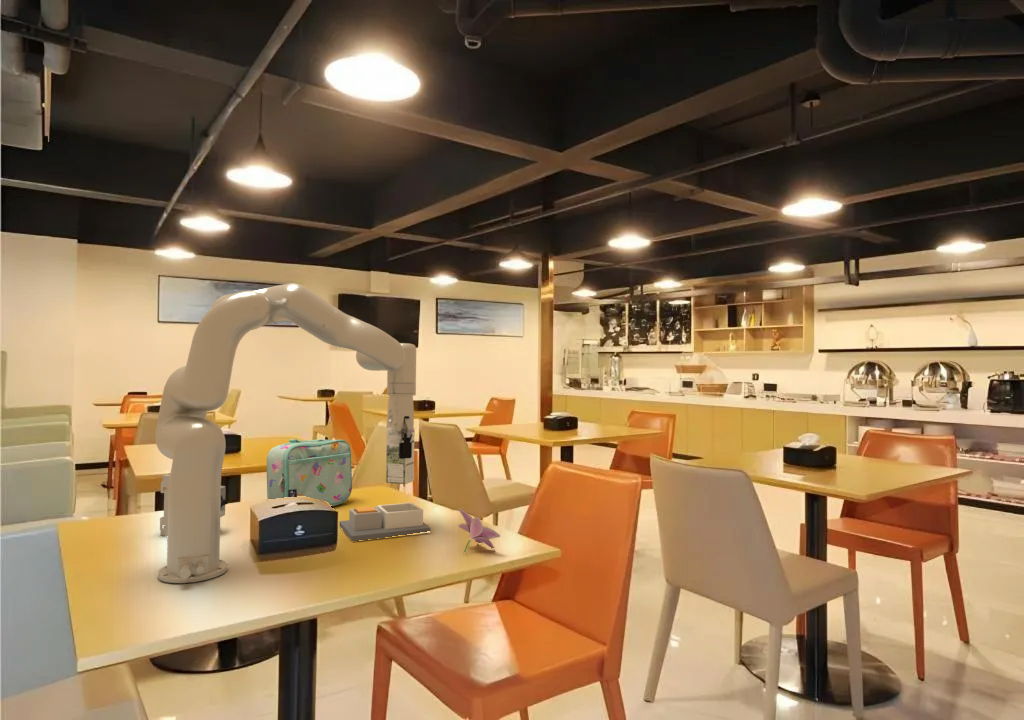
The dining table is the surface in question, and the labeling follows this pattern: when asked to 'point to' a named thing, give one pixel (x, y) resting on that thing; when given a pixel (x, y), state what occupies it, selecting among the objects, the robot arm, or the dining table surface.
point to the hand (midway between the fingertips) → (400, 455)
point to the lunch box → (310, 470)
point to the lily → (477, 530)
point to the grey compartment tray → (385, 522)
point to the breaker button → (364, 510)
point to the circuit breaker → (165, 519)
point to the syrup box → (398, 460)
